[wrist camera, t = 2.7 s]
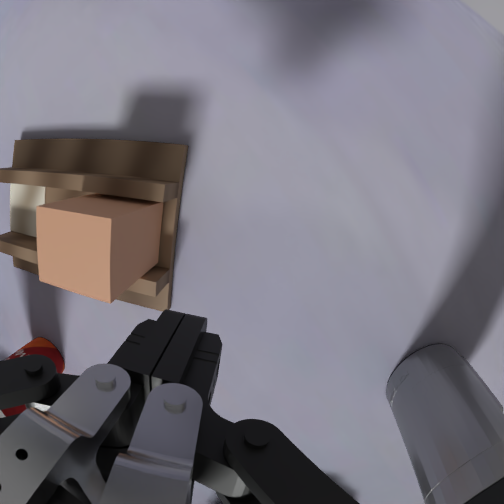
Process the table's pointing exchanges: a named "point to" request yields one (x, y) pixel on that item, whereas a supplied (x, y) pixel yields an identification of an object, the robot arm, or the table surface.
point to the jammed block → (97, 243)
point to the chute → (90, 182)
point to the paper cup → (41, 348)
